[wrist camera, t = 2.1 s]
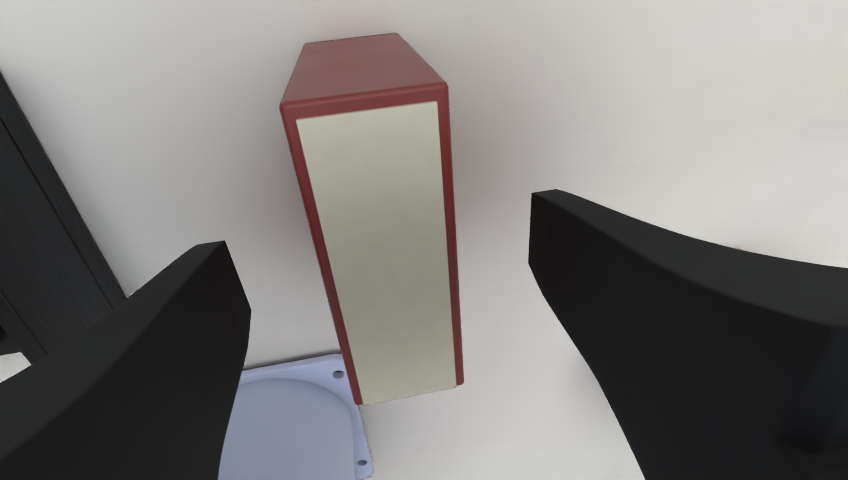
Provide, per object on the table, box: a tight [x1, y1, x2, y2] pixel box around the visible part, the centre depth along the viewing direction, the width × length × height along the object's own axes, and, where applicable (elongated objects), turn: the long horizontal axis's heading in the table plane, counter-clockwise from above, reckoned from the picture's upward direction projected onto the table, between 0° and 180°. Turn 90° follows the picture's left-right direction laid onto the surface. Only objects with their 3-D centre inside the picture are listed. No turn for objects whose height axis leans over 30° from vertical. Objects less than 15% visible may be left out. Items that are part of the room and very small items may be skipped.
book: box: [279, 33, 464, 406], centre depth 13 cm, size 8×3×8 cm, turn 5°
